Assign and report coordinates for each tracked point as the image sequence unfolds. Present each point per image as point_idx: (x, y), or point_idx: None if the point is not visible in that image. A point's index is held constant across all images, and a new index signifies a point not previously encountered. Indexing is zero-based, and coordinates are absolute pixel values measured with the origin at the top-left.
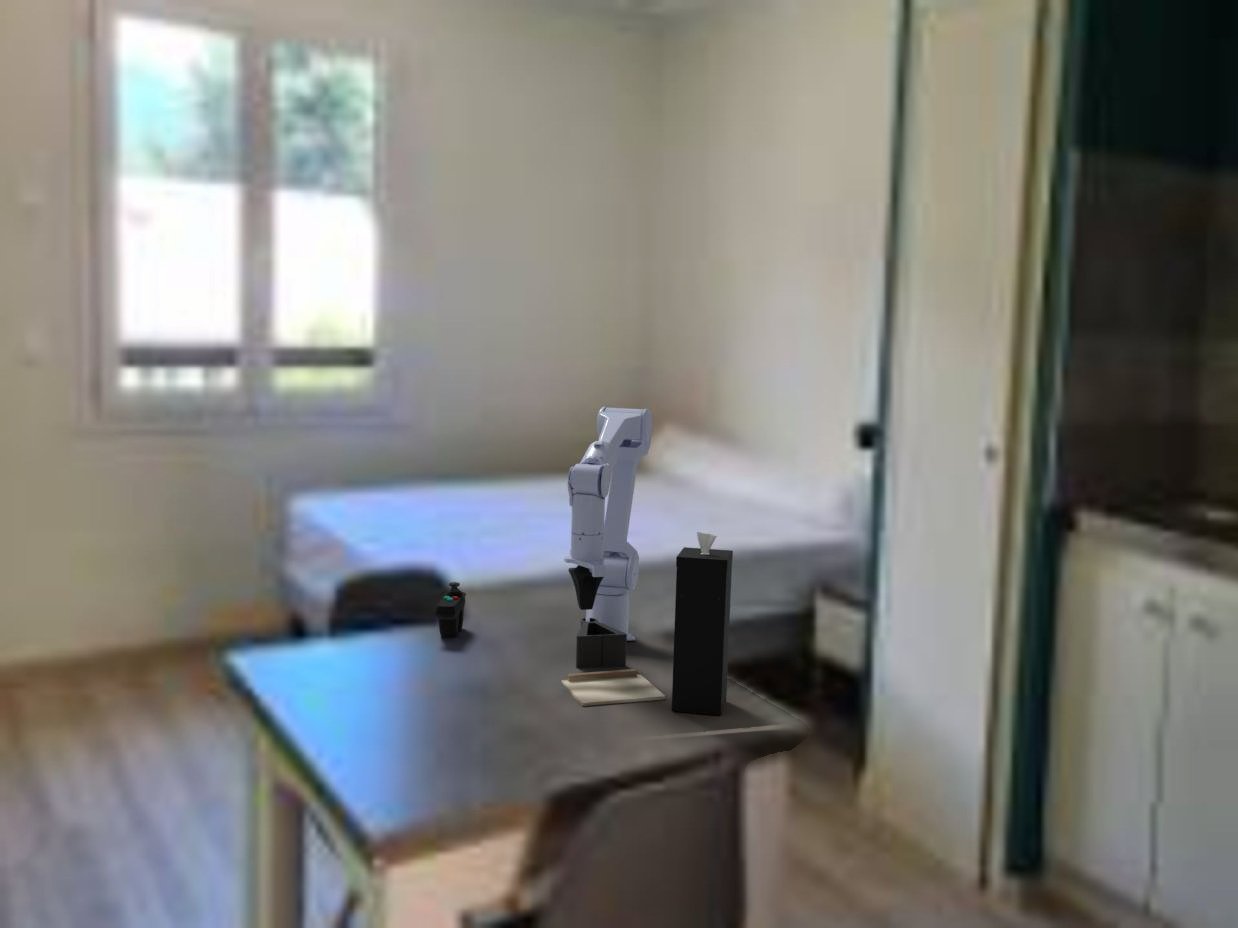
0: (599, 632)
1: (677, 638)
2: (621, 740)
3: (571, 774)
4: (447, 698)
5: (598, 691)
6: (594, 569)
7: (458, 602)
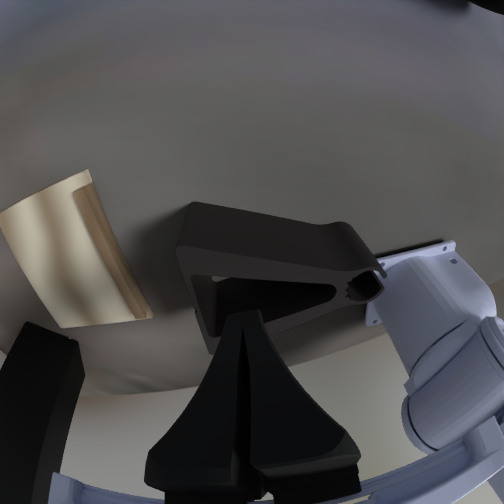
0: (300, 295)
1: None
2: None
3: None
4: None
5: (43, 243)
6: (48, 500)
7: None
